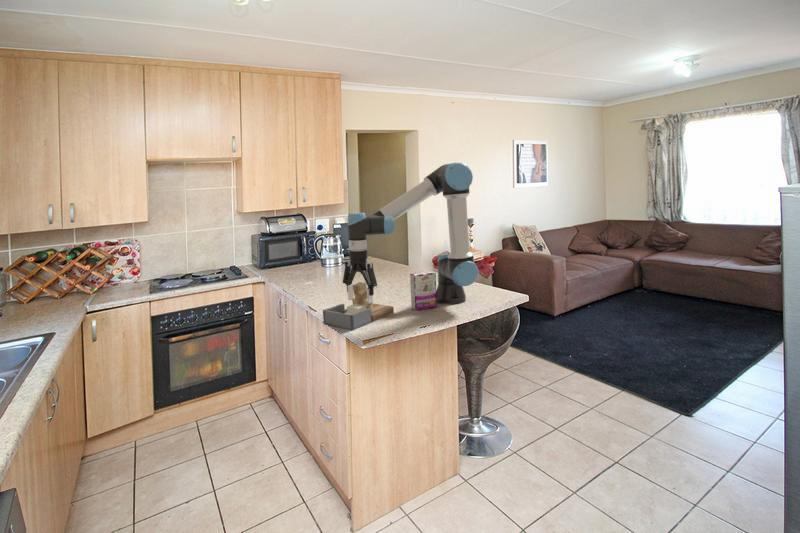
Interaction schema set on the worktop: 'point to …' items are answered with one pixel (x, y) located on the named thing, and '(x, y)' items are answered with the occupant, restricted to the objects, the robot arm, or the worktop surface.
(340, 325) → the tray
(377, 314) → the board
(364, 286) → the scraper
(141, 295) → the worktop surface
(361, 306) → the tile
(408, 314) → the worktop surface
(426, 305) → the candy bar box
